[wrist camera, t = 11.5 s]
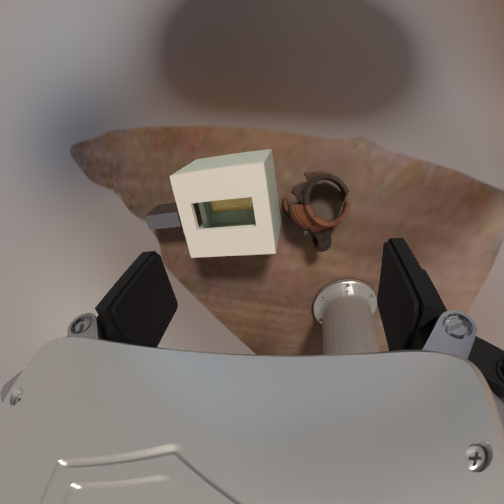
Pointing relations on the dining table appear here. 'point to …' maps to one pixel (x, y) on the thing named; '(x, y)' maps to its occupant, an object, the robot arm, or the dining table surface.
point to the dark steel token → (164, 217)
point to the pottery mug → (305, 214)
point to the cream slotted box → (229, 187)
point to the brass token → (232, 204)
